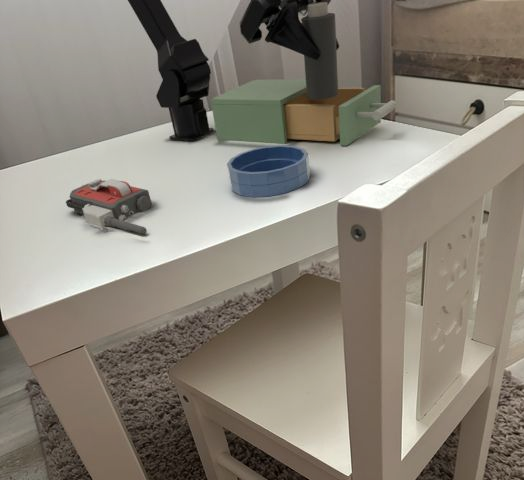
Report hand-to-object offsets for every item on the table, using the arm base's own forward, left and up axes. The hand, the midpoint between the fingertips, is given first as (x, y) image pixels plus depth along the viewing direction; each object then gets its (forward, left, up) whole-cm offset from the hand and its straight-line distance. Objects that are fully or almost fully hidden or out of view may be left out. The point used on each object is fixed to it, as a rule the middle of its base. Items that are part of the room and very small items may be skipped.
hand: (328, 53), depth 77 cm
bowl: (-1, -17, -14) cm, 22 cm away
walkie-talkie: (-16, -33, -14) cm, 39 cm away
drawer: (-1, +5, -13) cm, 14 cm away
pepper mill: (-1, 0, -6) cm, 6 cm away
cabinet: (-15, +5, -14) cm, 21 cm away
